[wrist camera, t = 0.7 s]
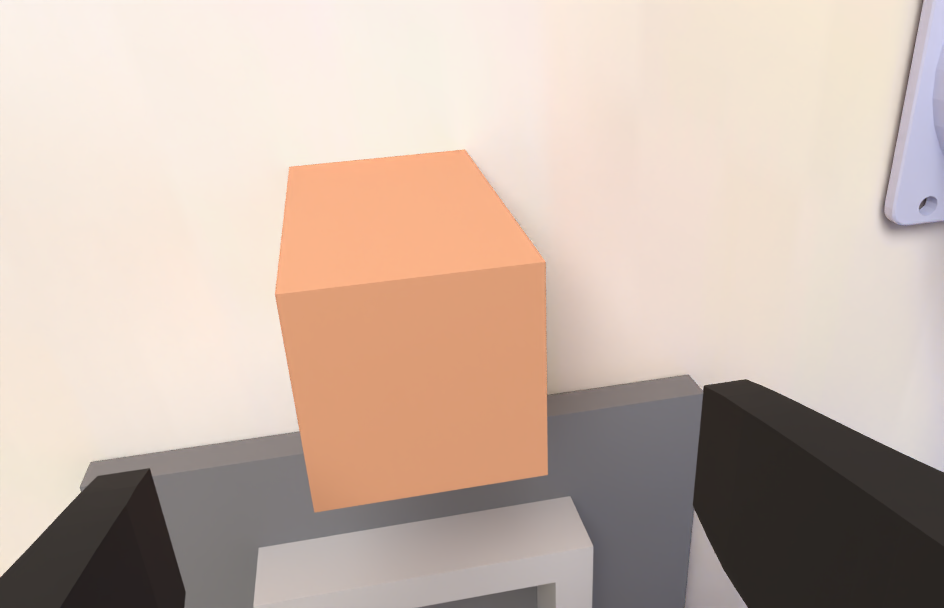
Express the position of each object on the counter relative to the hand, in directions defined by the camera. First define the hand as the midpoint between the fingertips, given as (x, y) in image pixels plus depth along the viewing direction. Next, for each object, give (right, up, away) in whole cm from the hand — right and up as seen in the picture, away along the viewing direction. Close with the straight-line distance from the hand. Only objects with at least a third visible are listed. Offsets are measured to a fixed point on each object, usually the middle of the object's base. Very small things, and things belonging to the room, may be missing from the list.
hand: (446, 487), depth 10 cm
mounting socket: (-1, -7, +13) cm, 15 cm away
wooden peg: (-2, +4, +8) cm, 9 cm away
